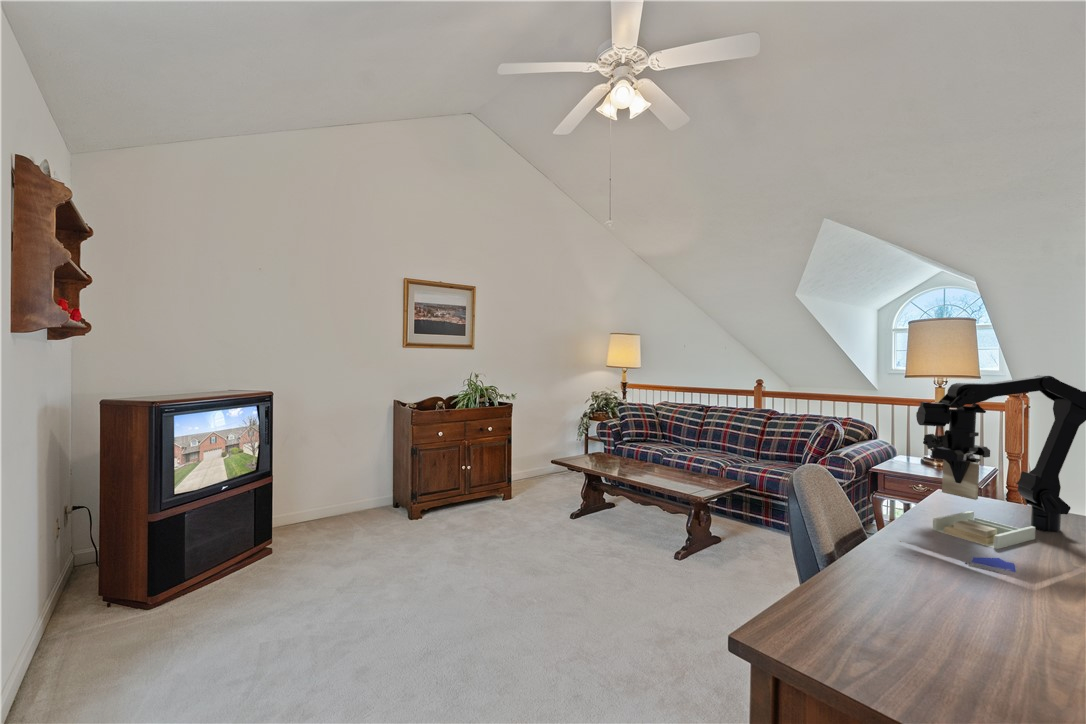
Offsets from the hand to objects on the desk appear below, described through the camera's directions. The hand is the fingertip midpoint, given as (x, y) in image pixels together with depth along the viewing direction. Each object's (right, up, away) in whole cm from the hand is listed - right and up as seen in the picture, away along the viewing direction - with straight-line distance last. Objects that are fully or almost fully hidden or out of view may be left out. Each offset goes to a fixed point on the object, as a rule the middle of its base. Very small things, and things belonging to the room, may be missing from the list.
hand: (959, 482), depth 143 cm
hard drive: (-15, -13, -28) cm, 34 cm away
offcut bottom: (-8, -11, -14) cm, 19 cm away
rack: (-3, -12, -11) cm, 17 cm away
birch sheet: (0, -4, 0) cm, 4 cm away
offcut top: (-8, -9, -14) cm, 18 cm away
